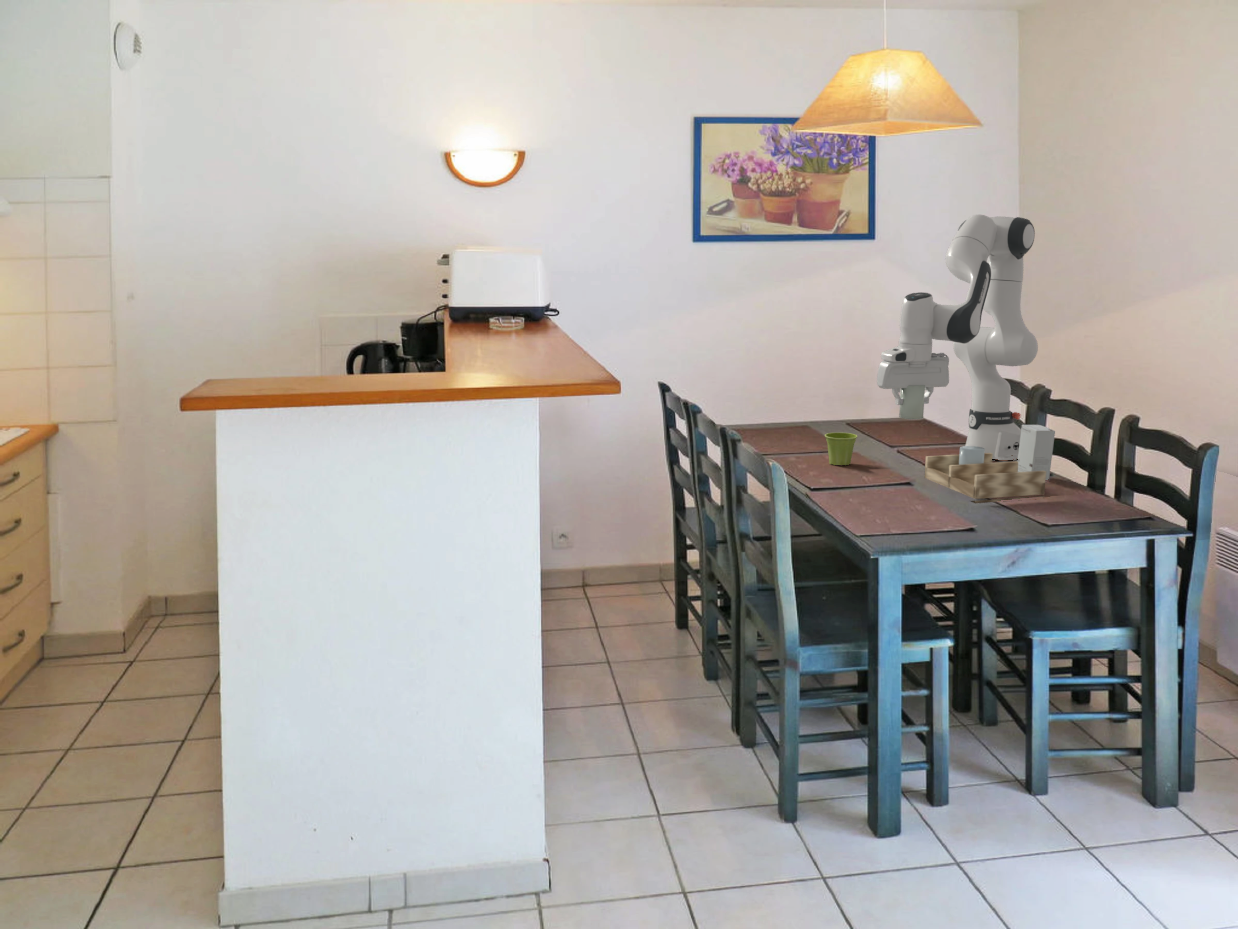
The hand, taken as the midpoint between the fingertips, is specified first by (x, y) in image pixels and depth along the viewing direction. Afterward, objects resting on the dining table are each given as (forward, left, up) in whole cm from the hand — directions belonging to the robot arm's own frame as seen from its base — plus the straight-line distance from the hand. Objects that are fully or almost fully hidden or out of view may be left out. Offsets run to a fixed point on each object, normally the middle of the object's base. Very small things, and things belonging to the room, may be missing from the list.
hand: (911, 404), depth 305 cm
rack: (-12, +17, -21) cm, 30 cm away
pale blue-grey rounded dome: (-12, +11, -20) cm, 26 cm away
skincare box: (-33, +9, -21) cm, 41 cm away
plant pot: (+10, -23, -21) cm, 33 cm away
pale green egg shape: (0, 0, -4) cm, 4 cm away
